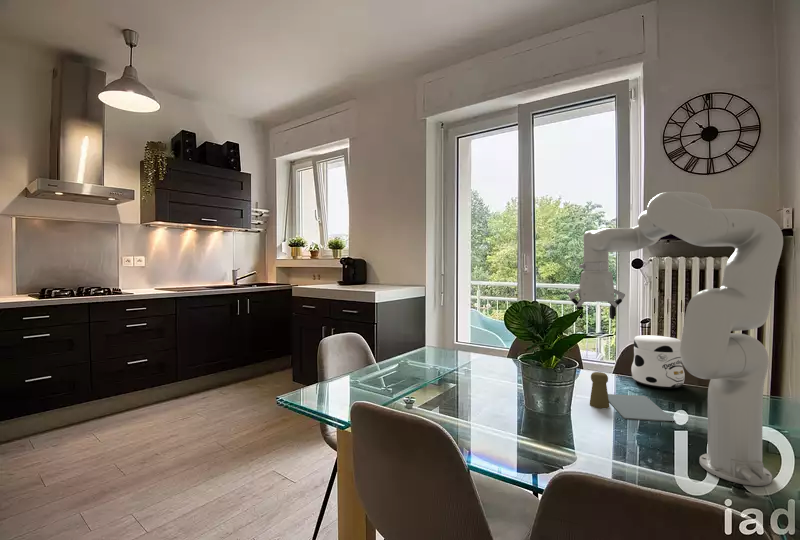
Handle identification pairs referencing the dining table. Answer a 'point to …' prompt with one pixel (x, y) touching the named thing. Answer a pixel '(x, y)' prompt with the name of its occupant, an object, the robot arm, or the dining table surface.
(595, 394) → the cork
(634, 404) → the mat
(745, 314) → the robot arm
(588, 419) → the dining table surface
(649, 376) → the milk container
